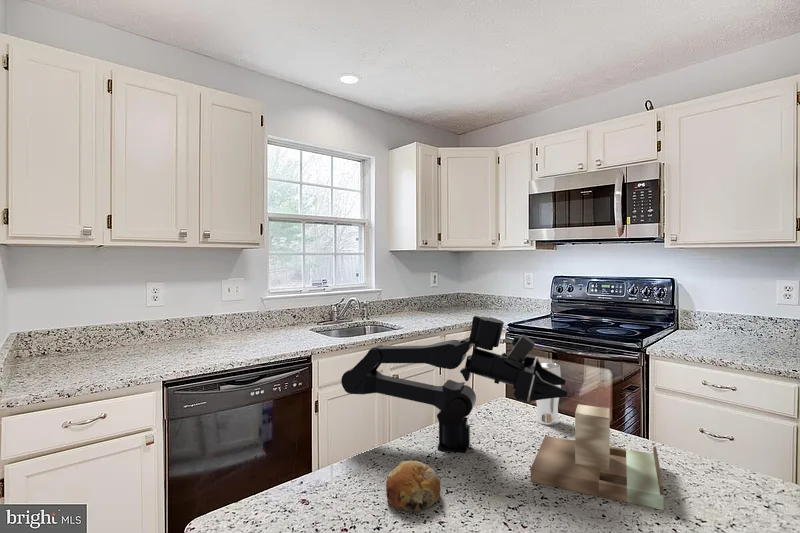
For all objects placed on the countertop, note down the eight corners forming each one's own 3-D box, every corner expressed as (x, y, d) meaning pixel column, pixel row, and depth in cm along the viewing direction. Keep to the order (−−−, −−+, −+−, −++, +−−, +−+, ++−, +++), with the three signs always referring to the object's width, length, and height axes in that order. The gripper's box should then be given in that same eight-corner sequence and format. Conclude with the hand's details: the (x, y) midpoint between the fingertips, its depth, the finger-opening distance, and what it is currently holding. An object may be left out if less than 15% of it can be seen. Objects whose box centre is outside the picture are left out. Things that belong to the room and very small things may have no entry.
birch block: (575, 463, 86) (575, 413, 86) (578, 451, 91) (577, 404, 91) (608, 470, 83) (608, 417, 83) (609, 457, 89) (609, 408, 89)
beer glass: (565, 425, 113) (564, 368, 113) (538, 425, 113) (537, 368, 113) (555, 416, 120) (555, 362, 120) (530, 416, 120) (530, 362, 120)
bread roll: (443, 513, 80) (447, 465, 83) (430, 517, 71) (435, 463, 74) (393, 503, 83) (398, 458, 86) (374, 506, 74) (381, 455, 78)
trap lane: (530, 481, 84) (530, 460, 84) (545, 446, 100) (545, 429, 100) (663, 510, 74) (663, 486, 74) (656, 466, 90) (656, 446, 90)
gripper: (497, 338, 88) (578, 361, 83) (505, 326, 106) (572, 344, 101) (485, 391, 89) (564, 416, 84) (495, 369, 107) (561, 389, 102)
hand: (566, 388), depth 93 cm, fingers open, 9 cm apart
